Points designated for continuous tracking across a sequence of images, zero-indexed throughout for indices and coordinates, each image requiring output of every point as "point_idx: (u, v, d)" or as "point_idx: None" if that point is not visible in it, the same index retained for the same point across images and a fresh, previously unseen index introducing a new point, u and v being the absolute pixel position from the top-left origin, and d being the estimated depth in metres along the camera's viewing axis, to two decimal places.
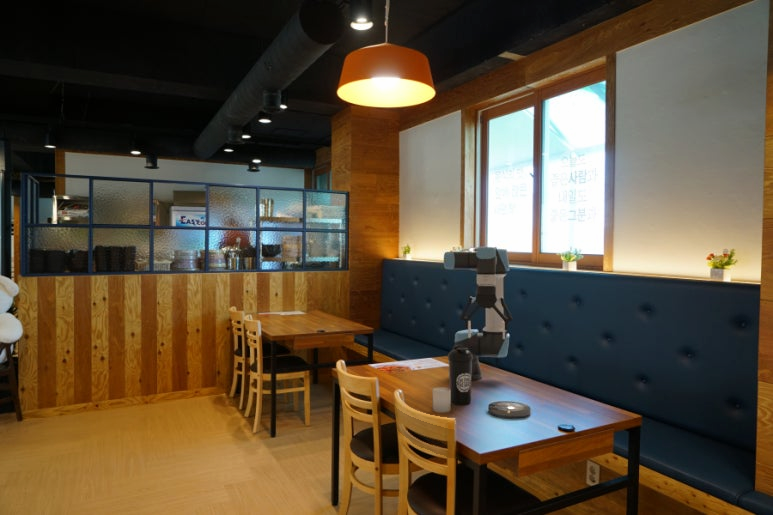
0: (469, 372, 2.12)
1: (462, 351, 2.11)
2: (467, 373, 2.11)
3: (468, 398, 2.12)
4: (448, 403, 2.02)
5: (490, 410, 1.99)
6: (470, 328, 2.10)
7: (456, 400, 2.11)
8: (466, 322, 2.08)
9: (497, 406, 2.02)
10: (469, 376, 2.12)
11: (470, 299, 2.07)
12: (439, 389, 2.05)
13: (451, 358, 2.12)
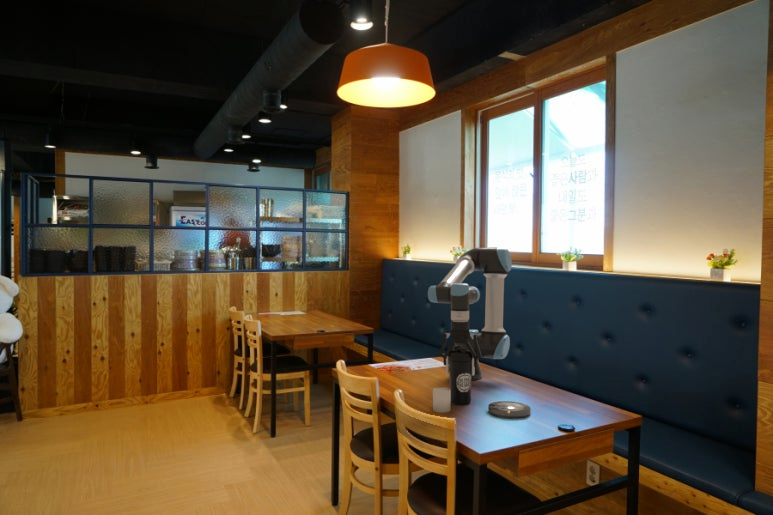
0: (469, 372, 2.12)
1: (462, 351, 2.11)
2: (467, 373, 2.11)
3: (468, 398, 2.12)
4: (448, 403, 2.02)
5: (490, 410, 1.99)
6: (448, 364, 2.17)
7: (456, 400, 2.11)
8: (444, 359, 2.16)
9: (497, 406, 2.02)
10: (469, 376, 2.12)
11: (445, 335, 2.15)
12: (439, 389, 2.05)
13: (451, 358, 2.12)
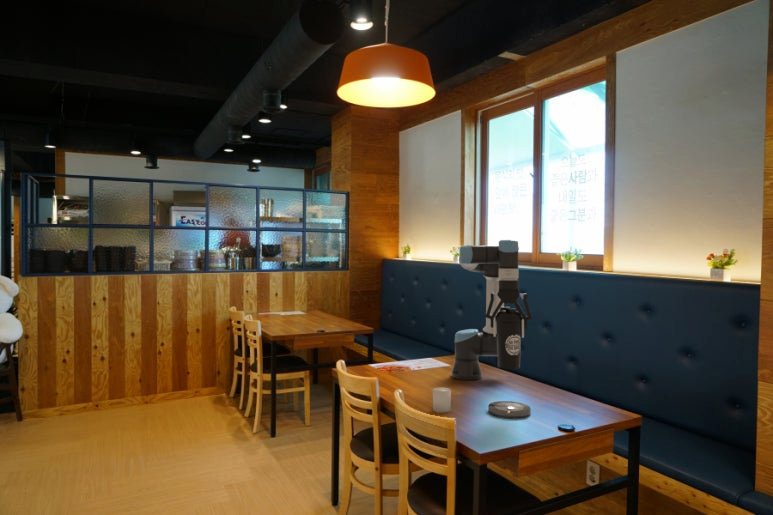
0: (519, 334, 1.98)
1: (512, 311, 1.97)
2: (517, 335, 1.97)
3: (518, 362, 1.98)
4: (448, 403, 2.02)
5: (490, 410, 1.99)
6: None
7: (505, 363, 1.97)
8: (491, 320, 2.02)
9: (497, 406, 2.02)
10: (519, 338, 1.98)
11: (492, 295, 2.01)
12: (439, 389, 2.05)
13: (500, 319, 1.98)
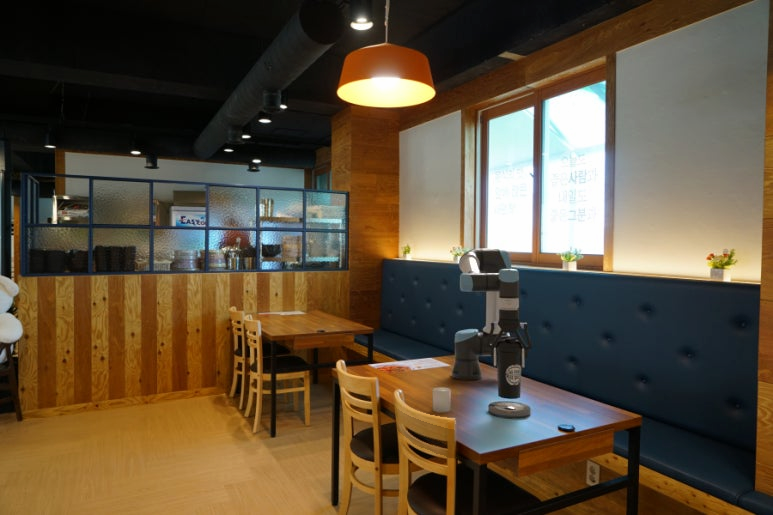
0: (519, 364, 1.98)
1: (512, 341, 1.97)
2: (517, 365, 1.97)
3: (518, 391, 1.98)
4: (448, 403, 2.02)
5: (490, 410, 1.99)
6: None
7: (506, 393, 1.97)
8: (492, 349, 2.02)
9: (497, 406, 2.02)
10: (519, 368, 1.98)
11: (492, 325, 2.01)
12: (439, 389, 2.05)
13: (500, 349, 1.98)
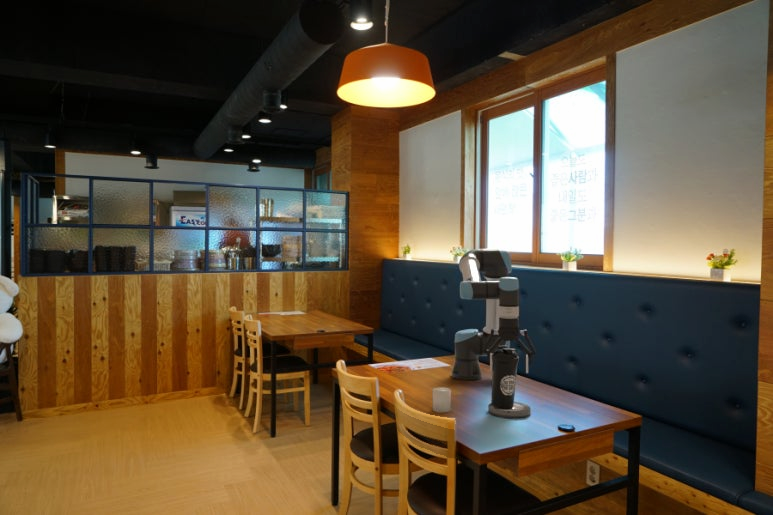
0: (514, 374, 1.98)
1: (509, 352, 1.98)
2: (513, 375, 1.98)
3: (511, 402, 1.99)
4: (448, 403, 2.02)
5: (490, 410, 1.99)
6: None
7: (499, 403, 1.98)
8: (488, 355, 2.02)
9: None
10: (514, 379, 1.99)
11: (492, 331, 2.01)
12: (439, 389, 2.05)
13: (496, 358, 1.98)
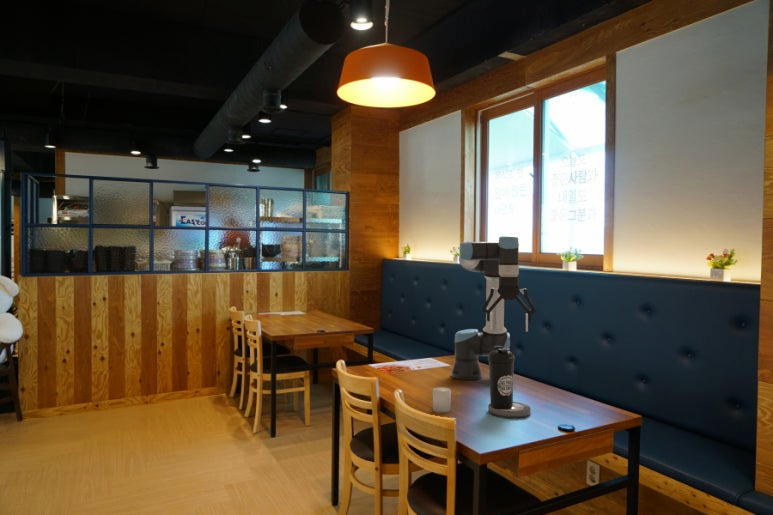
0: (511, 374, 1.99)
1: (504, 352, 1.98)
2: (509, 375, 1.98)
3: (510, 402, 1.99)
4: (448, 403, 2.02)
5: (490, 410, 1.99)
6: None
7: (498, 404, 1.98)
8: (488, 314, 2.02)
9: None
10: (511, 379, 1.99)
11: (492, 290, 2.01)
12: (439, 389, 2.05)
13: (492, 359, 1.99)
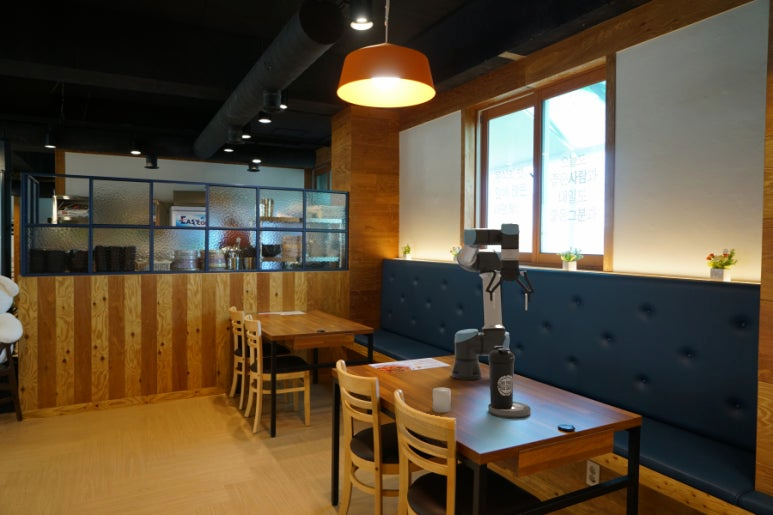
0: (511, 374, 1.99)
1: (504, 352, 1.98)
2: (509, 375, 1.98)
3: (510, 402, 1.99)
4: (448, 403, 2.02)
5: (490, 410, 1.99)
6: (494, 300, 2.23)
7: (498, 404, 1.98)
8: (491, 294, 2.22)
9: None
10: (511, 379, 1.99)
11: (494, 273, 2.20)
12: (439, 389, 2.05)
13: (492, 359, 1.99)
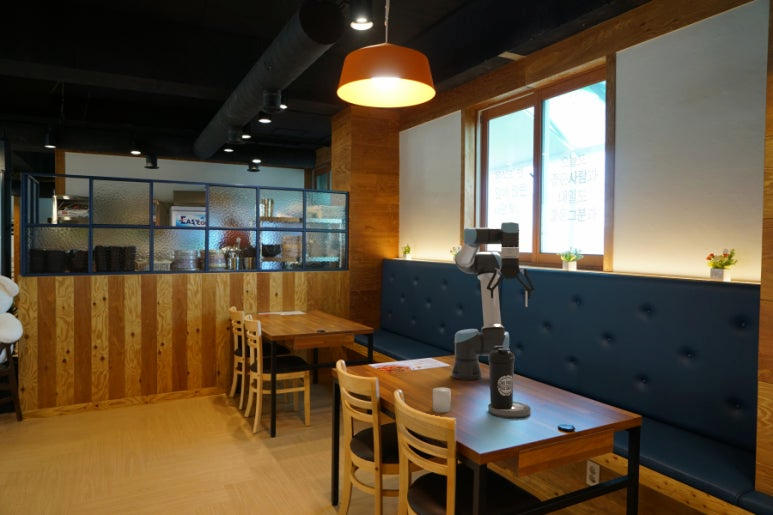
0: (511, 374, 1.99)
1: (504, 352, 1.98)
2: (509, 375, 1.98)
3: (510, 402, 1.99)
4: (448, 403, 2.02)
5: (490, 410, 1.99)
6: None
7: (498, 404, 1.98)
8: (491, 292, 2.26)
9: None
10: (511, 379, 1.99)
11: (495, 270, 2.25)
12: (439, 389, 2.05)
13: (492, 359, 1.99)
